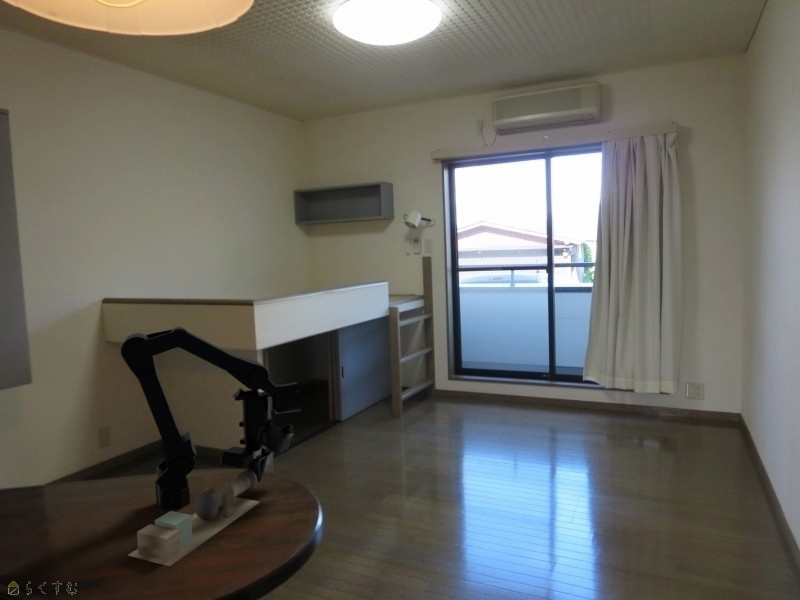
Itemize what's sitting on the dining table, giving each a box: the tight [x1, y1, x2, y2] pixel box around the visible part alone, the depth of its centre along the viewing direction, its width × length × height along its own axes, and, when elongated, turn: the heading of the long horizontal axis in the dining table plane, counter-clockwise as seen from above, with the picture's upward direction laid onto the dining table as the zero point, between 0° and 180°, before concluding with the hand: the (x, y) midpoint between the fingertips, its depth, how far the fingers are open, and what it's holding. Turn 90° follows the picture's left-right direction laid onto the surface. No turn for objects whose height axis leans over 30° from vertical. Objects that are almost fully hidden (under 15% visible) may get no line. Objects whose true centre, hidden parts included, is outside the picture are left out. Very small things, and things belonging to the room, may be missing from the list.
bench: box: [127, 486, 261, 567], centre depth 108 cm, size 10×26×6 cm, turn 158°
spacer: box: [154, 510, 193, 548], centre depth 102 cm, size 5×4×5 cm
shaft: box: [193, 469, 259, 520], centre depth 116 cm, size 5×15×5 cm, turn 158°
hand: (258, 481), depth 126 cm, fingers closed
